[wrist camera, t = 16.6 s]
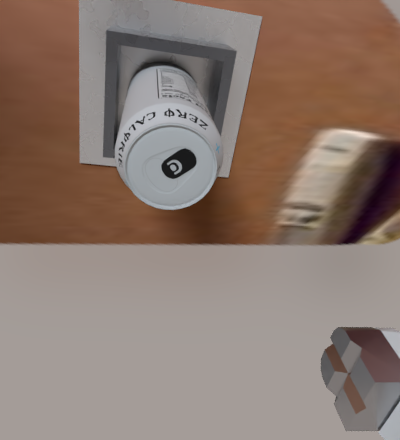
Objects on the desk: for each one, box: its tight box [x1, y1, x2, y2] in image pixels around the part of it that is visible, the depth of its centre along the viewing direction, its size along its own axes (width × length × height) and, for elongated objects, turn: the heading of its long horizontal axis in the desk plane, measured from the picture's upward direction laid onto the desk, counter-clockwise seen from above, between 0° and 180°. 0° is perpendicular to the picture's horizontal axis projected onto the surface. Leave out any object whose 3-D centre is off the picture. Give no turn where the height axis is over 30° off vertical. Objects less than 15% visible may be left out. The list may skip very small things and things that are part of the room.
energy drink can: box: [115, 62, 224, 210], centre depth 26 cm, size 6×6×15 cm
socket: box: [79, 0, 262, 177], centre depth 31 cm, size 14×14×5 cm
